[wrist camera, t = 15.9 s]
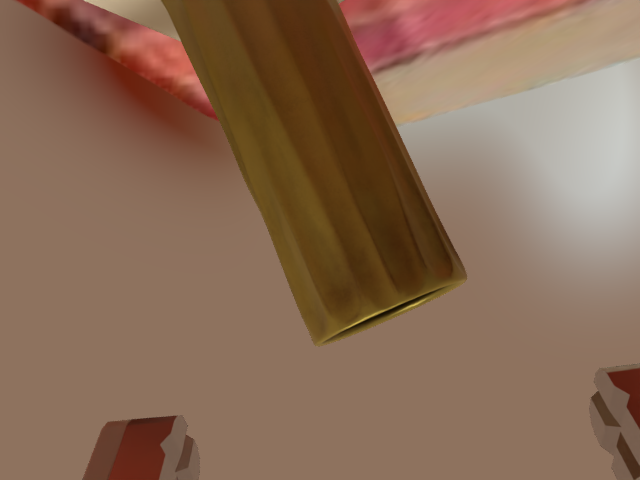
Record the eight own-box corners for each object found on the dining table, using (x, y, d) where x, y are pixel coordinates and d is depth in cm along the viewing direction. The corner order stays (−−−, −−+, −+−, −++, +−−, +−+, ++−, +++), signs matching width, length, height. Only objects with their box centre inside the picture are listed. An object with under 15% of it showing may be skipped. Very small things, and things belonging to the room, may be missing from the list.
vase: (115, -24, 19) (265, 365, 16) (249, -152, 17) (459, 273, 13) (221, 41, 24) (349, 339, 21) (333, -49, 22) (497, 271, 19)
